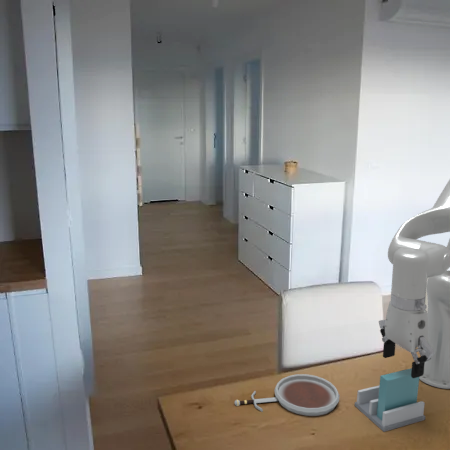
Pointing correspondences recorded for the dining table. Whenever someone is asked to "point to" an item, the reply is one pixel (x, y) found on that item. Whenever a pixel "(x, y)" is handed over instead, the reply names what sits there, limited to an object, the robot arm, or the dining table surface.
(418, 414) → the dish rack
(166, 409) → the dining table surface
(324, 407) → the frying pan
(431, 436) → the dining table surface
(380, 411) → the teal upright slab
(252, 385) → the dining table surface
